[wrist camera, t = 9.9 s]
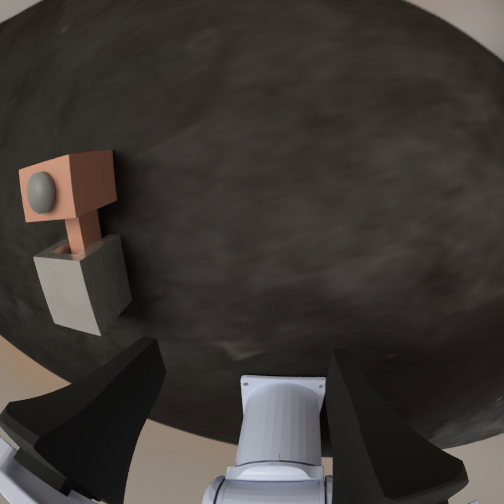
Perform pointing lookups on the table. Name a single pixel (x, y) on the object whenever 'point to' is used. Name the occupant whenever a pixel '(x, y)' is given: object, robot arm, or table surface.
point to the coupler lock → (85, 284)
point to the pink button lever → (70, 193)
